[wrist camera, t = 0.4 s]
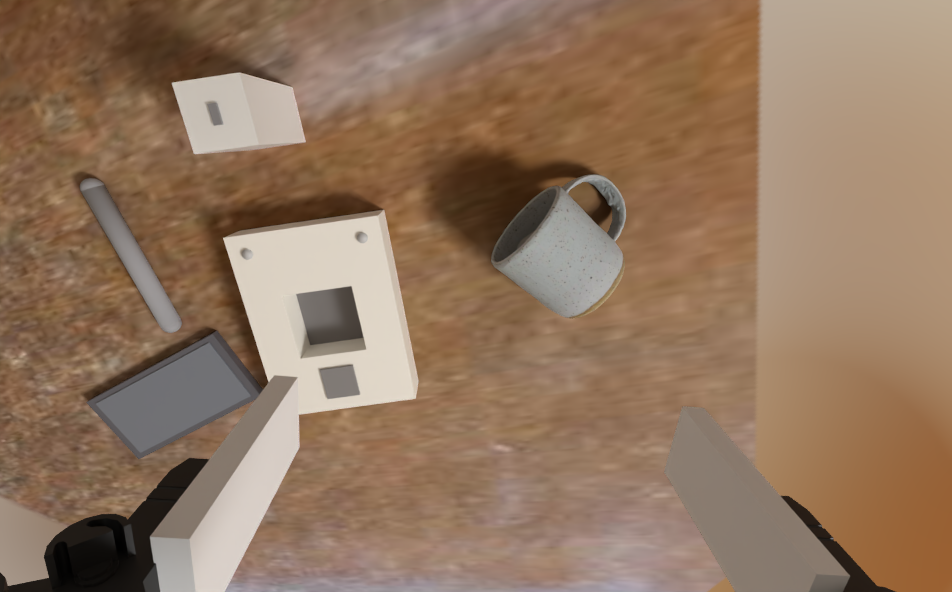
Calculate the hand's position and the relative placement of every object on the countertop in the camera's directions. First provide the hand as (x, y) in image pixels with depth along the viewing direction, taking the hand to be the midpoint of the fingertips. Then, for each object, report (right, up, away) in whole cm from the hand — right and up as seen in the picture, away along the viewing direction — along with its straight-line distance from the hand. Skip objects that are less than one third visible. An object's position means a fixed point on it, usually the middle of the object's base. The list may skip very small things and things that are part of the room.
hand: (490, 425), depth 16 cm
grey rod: (-29, +8, +24) cm, 38 cm away
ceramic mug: (+6, +10, +24) cm, 27 cm away
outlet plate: (-13, +3, +25) cm, 29 cm away
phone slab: (-28, -5, +28) cm, 40 cm away
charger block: (-16, +18, +20) cm, 32 cm away
